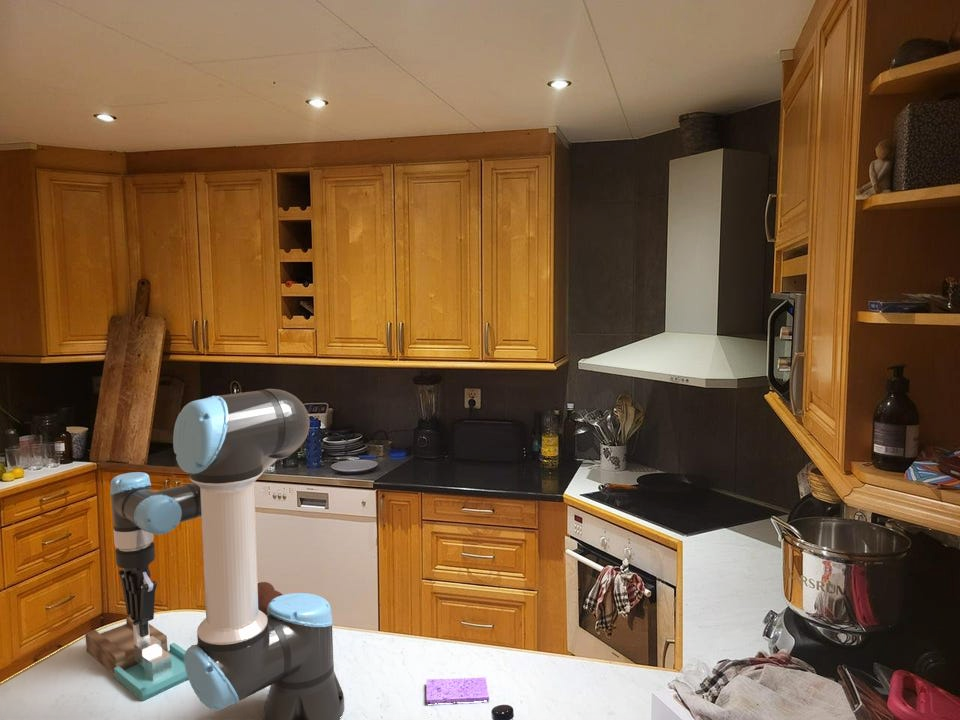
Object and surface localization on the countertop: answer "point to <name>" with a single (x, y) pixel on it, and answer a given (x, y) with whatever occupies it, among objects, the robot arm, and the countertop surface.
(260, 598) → the ice cream bowl
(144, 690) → the tray
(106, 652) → the groove board
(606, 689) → the countertop surface
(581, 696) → the countertop surface
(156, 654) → the near block
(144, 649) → the far block
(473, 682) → the sponges
